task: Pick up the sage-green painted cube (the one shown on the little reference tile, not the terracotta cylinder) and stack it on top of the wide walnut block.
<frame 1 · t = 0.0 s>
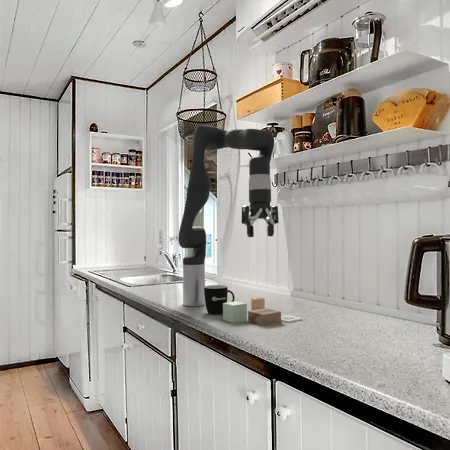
hand: (260, 236, 145), 29 cm above the worktop, fingers open, 8 cm apart
mug: (220, 313, 164), on the worktop
terracotta cylinder: (258, 314, 159), on the worktop
sage cube: (235, 320, 151), on the worktop
walnut block: (264, 323, 147), on the worktop
reference tile: (288, 319, 150), on the worktop
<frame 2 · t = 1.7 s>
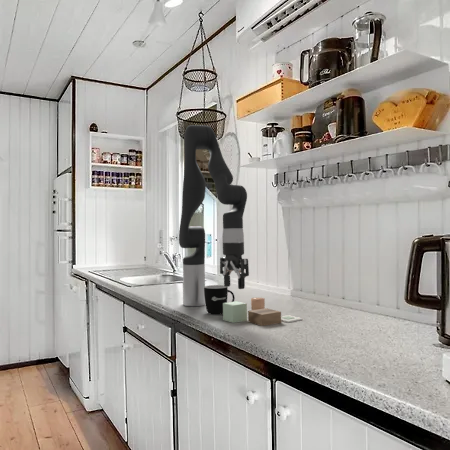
hand: (234, 287, 151), 11 cm above the worktop, fingers open, 8 cm apart
nothing on the worktop moved.
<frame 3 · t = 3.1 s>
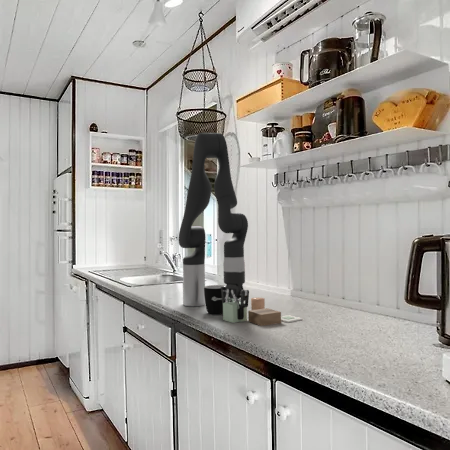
hand: (235, 317, 151), 1 cm above the worktop, fingers closed on sage cube, 6 cm apart
sage cube: (235, 320, 151), on the worktop, touching gripper
everything else where it was.
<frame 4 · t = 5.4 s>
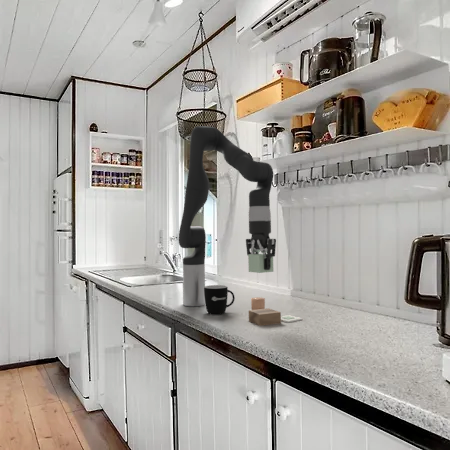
hand: (261, 268, 147), 18 cm above the worktop, fingers closed on sage cube, 6 cm apart
sage cube: (261, 271, 147), point 17 cm above the worktop, touching gripper
everything else where it was.
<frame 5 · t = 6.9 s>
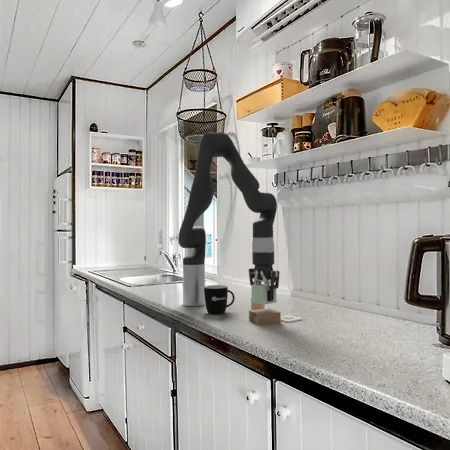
hand: (264, 299, 147), 8 cm above the worktop, fingers closed on sage cube, 6 cm apart
sage cube: (264, 302, 147), point 7 cm above the worktop, touching gripper
everything else where it was.
when the fingers open (6 cm above the worktop, at t = 7.7 s): sage cube drops 1 cm, resting on walnut block.
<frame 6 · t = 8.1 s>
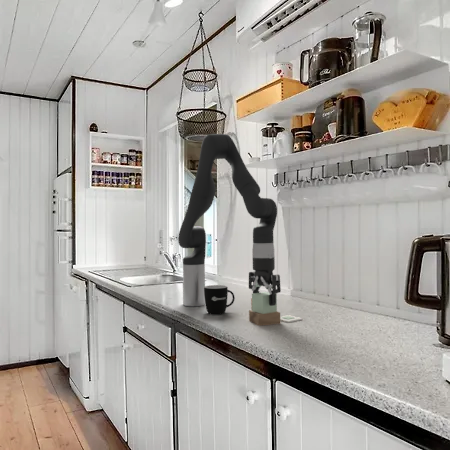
hand: (264, 303, 147), 6 cm above the worktop, fingers open, 8 cm apart
sage cube: (264, 311, 147), point 4 cm above the worktop, touching walnut block
walnut block: (264, 323, 147), on the worktop, touching sage cube
everything else where it was.
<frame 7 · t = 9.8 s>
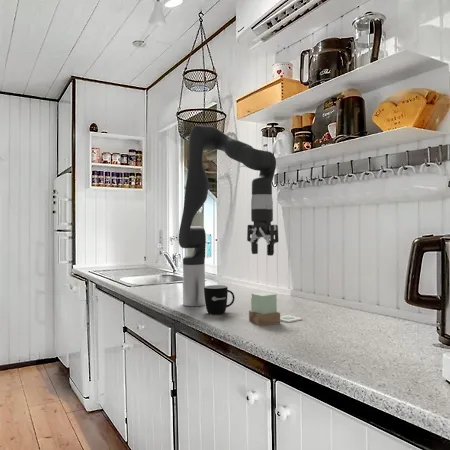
hand: (262, 254, 149), 23 cm above the worktop, fingers open, 8 cm apart
nothing on the worktop moved.
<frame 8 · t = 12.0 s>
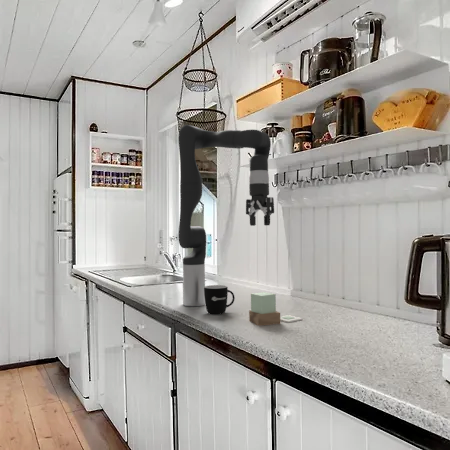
hand: (259, 225, 164), 33 cm above the worktop, fingers open, 8 cm apart
nothing on the worktop moved.
at the end: sage cube 0.4 cm off-centre on the walnut block, point 4.0 cm above the walnut block's base; sage cube tilted 0°; the gripper is holding nothing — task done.
